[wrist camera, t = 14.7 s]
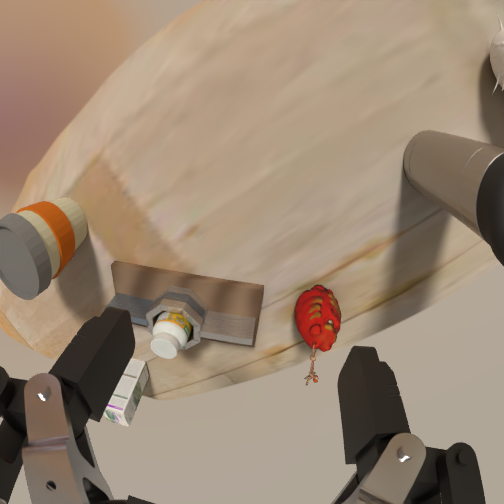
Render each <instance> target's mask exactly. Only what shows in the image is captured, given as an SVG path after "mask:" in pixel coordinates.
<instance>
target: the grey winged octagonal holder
mask: <svg viewBox="0 0 504 504" xmlns="http://www.w3.org/2000/svg"><path fill="white" fill-rule="evenodd" d="M109 306H112V307H116V308H120V309H124V310H128V311H129V313H130V316H131V322H133V323H137V324H142V325H146V326H148V331H149V332H150V333H151V334H152V335H153V333H152V331H153V327H154V325H155V323H156V321H157V319H158V317H159V316H160V314H161V312H162V311H168V312H173V313H178V314H181V315H182V316H183V317H184V318H185V319H186V320H188V321H189V322H190V323H191V324H192V325H193V327H192V330H191V332H190V335H189V338H188V340H187V343H186V345H185V346H184V347H183V348H181V349H183V350H186V349H188V348H190V347H192V346H194V345H196V344H198V343H200V341H201V338H202V337H204V338H209V339H215V340H221V341H227V342H233V343H239V344H246V345H252V341H253V334H254V327H255V319H256V318H252V317H245V316H238V315H232V314H226V313H220V312H213V311H208V310H207V309H208V305H207V304H206V303H205V302H204V301H203V300H202V299H201V298H200V297H199V296H198V295H197V294H196V293H195V292H194V291H193V290H192V289H187V288H182V287H176V286H170V287H168V288H167V289H166V290H164V291H163V292H161V293H160V294H159V295H157V297H156V298H155V300H149V299H145V298H140V297H135V296H131V295H126V294H122V293H117V294H116V295H115V296H114V298H113V299H112V300H111V302H110V303H109V304H108V306H107V307H109ZM107 307H106V308H107ZM106 308H105V309H106ZM105 309H104V310H105Z"/></svg>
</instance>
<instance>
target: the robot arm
mask: <svg viewBox="0 0 504 504" xmlns="http://www.w3.org/2000/svg"><path fill="white" fill-rule="evenodd" d="M404 170H405V174H406V176H407V179H408V181H409V182H410V184H411V185H412V186H413V187H414V188H415V189H416V190H417V191H419V192H420V193H422V194H423V195H425V196H426V197H428V198H429V199H430V200H432V201H433V202H435V203H436V204H438V205H439V206H440V207H442V208H443V209H445V210H446V211H447V212H449V213H450V214H451V215H453V216H454V217H455V218H457V219H458V220H459V221H461V222H462V223H463V224H464V225H466V226H467V227H468V228H470V229H471V230H472V231H474V232H475V233H476V234H477V235H478V236H480V237H481V238H482V239H483V240H485V241H486V242H487V243H488V244H489V245H490V246H491V248H492V251H493V253H494V255H495V256H496V258H497V259H498V260H499V262H500V263H501V264H502V265H503V266H504V148H501V147H498V146H494V145H491V144H487V143H483V142H480V141H476V140H472V139H468V138H464V137H460V136H456V135H451V134H447V133H442V132H437V131H431V130H429V131H423V132H421V133H418V134H417V135H416V136H414V137H413V138H412V140H411V141H410V142H409V144H408V146H407V148H406V151H405V154H404ZM134 349H135V337H134V332H133V327H132V322H131V316H130V313H129V311H128V310H124V309H120V308H116V307H112V306H109V307H107V308H106V309H105V311H104V312H103V313H102V315H101V316H100V317H96V316H95V317H93V318H92V319H90V320H89V321H87V322H86V323H84V325H83V326H82V327H81V328H80V330H79V331H78V332H77V335H75V336H74V338H73V339H72V341H71V343H69V345H68V346H67V347H66V349H65V350H64V352H63V353H62V354H61V356H60V357H59V359H58V360H57V361H56V363H55V364H54V366H53V367H52V369H51V370H50V371H49V373H41V374H37V375H35V376H33V377H32V378H30V379H29V380H21V379H15V378H10V377H9V375H8V374H7V372H6V371H5V369H4V368H2V367H0V417H2V418H3V421H2V423H1V425H0V504H8V502H9V499H10V496H11V493H12V490H13V488H14V485H15V482H16V480H17V477H18V475H19V472H20V470H21V467H22V465H24V470H25V475H26V480H27V485H28V489H29V493H30V497H31V501H32V504H154V503H151V502H148V501H145V500H141V499H138V498H135V497H132V496H130V495H129V496H128V500H114V498H113V496H112V493H111V491H110V488H109V486H108V484H107V482H106V481H105V479H104V477H103V476H102V474H101V472H100V470H99V467H98V464H97V461H96V458H95V455H94V451H93V448H92V445H91V441H90V438H89V434H88V431H87V427H86V423H87V421H88V419H89V418H90V419H92V420H95V421H97V422H100V419H101V417H102V415H103V413H104V411H105V409H106V407H107V405H108V403H109V401H110V399H111V397H112V395H113V393H114V391H115V389H116V387H117V385H118V383H119V381H120V379H121V377H122V375H123V373H124V371H125V369H126V367H127V365H128V363H129V361H130V360H131V358H132V356H133V353H134ZM338 395H339V403H340V411H341V420H342V429H343V438H344V450H345V461H346V464H356V466H357V471H356V472H355V473H354V474H353V476H352V477H351V479H350V480H349V481H348V483H347V484H346V485H345V487H344V488H343V489H342V490H341V492H340V493H339V494H338V496H337V497H336V498H335V499H334V500H333V502H332V503H331V504H485V497H484V491H483V486H482V480H481V475H480V471H479V466H478V462H477V458H476V454H475V452H474V450H473V449H472V447H471V446H469V445H468V444H466V443H461V442H460V443H455V444H453V445H452V446H451V447H450V448H449V449H447V450H443V449H437V448H431V447H426V446H425V445H424V443H423V442H422V441H421V440H420V439H419V438H418V437H417V436H415V435H413V434H411V432H410V429H409V425H408V421H407V417H406V413H405V410H404V406H403V403H402V399H401V396H400V392H399V389H398V386H397V382H396V379H395V375H394V372H393V371H392V370H391V369H390V367H389V366H388V365H387V363H386V362H380V361H379V358H378V355H377V351H376V349H375V348H374V347H365V346H353V348H352V349H351V351H350V353H349V355H348V357H347V360H346V362H345V364H344V366H343V368H342V370H341V372H340V374H339V378H338ZM440 493H441V495H440ZM441 501H442V503H441Z"/></svg>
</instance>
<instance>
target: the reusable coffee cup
mask: <svg viewBox="0 0 504 504" xmlns="http://www.w3.org/2000/svg"><path fill="white" fill-rule="evenodd" d="M86 235H87V220H86V217H85V214H84V212H83V210H82V209H81V207H80V206H79V205H78V204H77V203H76V202H75V201H74V200H72V199H70V198H66V197H63V198H59V199H56V200H53V201H50V202H47V201H43V202H39V203H36V204H33V205H30V206H27V207H24V208H21V209H20V210H18V211H17V213H16V214H14V213H11V214H8V215H6V216H5V217H3V218H2V219H1V220H0V279H1V280H2V281H3V283H4V284H5V285H6V287H7V288H8V289H9V290H10V291H11V292H13V293H14V294H15V295H17V296H18V297H20V298H22V299H25V300H31V299H33V298H35V297H36V296H37V295H39V294H40V293H41V292H43V291H44V290H45V289H47V288H48V286H49V285H50V282H51V279H54V278H56V277H57V276H58V275H59V273H60V272H61V271H62V270H63V268H64V267H65V266H66V265H67V263H68V262H69V261H70V260H71V258H72V257H73V255H74V252H75V250H76V249H77V248H78V247H79V245H80V244H81V243H82V242H83V241H84V240H85V238H86Z"/></svg>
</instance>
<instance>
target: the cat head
mask: <svg viewBox="0 0 504 504" xmlns="http://www.w3.org/2000/svg"><path fill="white" fill-rule="evenodd" d="M497 16H498V14H497ZM498 19H499V23H500V32H499V33H498V34H497V35H496V36H495V37H494V39H493V41H492V43H491V47H490V62H491V66H492V70H493V72H494V75H495V77H496V79H497V83H496V86H495V89H496V87H497V85H498V83H499V84H500V86H501V87H502V91H503V90H504V27H503V25H502V23H501V20H500V18H499V16H498ZM495 89H494V90H495ZM493 92H494V91H493ZM492 94H493V93H492Z"/></svg>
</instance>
